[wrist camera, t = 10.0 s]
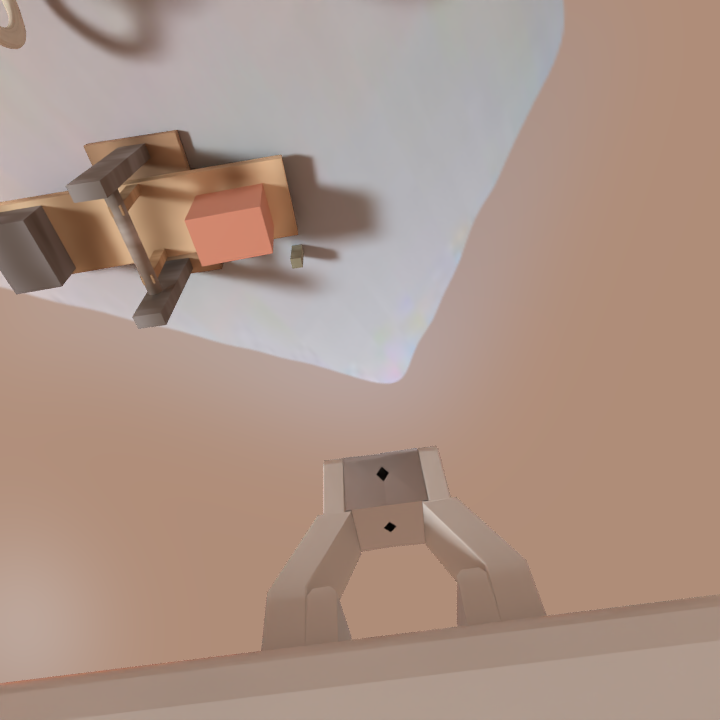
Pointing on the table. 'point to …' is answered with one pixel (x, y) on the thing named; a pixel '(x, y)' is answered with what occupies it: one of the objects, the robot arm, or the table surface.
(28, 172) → the table surface
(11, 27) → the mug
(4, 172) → the table surface
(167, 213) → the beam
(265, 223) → the salmon red rectangular block
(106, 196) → the stand
